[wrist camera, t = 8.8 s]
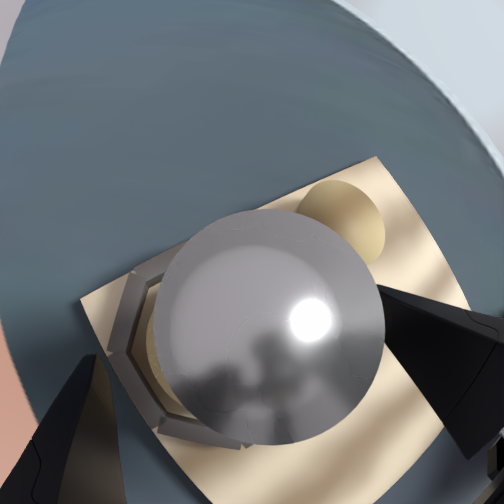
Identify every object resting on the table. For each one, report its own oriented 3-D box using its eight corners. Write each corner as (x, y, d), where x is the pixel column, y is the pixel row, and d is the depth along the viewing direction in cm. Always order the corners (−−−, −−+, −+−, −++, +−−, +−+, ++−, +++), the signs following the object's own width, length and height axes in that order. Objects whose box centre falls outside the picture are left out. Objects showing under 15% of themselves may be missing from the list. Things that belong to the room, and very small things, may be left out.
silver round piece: (307, 328, 17) (452, 280, 7) (237, 433, 14) (323, 538, 4) (205, 253, 17) (237, 111, 7) (124, 355, 14) (16, 349, 4)
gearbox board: (481, 356, 20) (507, 351, 17) (279, 557, 11) (295, 581, 8) (370, 162, 25) (390, 140, 21) (85, 302, 15) (63, 289, 12)
